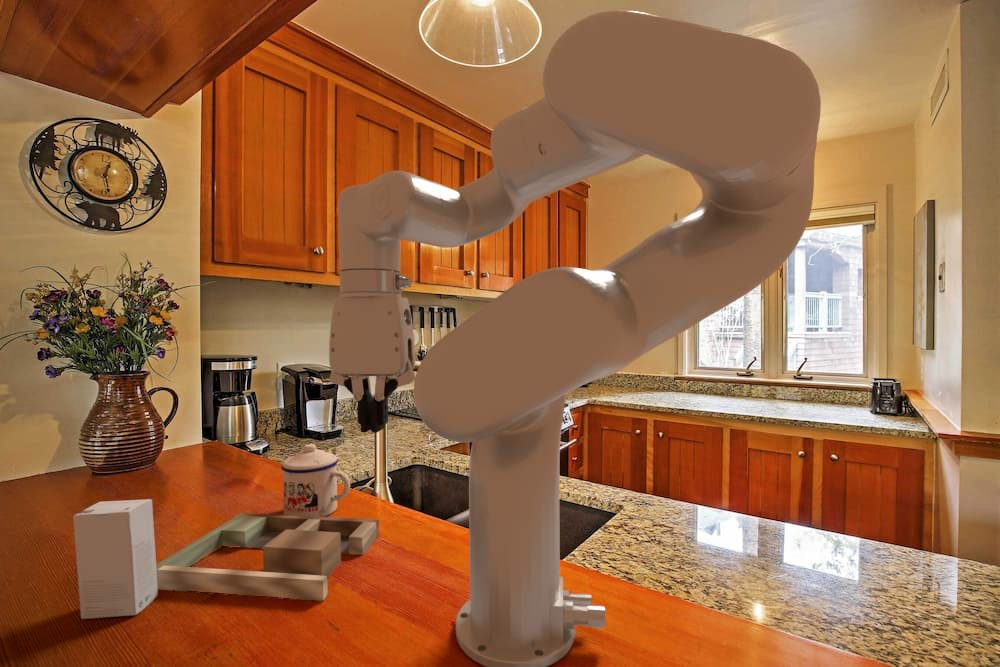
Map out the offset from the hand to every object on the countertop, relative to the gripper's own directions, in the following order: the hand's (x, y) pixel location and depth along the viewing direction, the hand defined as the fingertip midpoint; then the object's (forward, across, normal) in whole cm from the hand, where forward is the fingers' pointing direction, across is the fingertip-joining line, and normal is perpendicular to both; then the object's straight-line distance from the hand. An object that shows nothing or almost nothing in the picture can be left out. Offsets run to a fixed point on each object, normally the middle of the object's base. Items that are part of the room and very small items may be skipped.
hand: (373, 429), depth 60 cm
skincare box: (+19, +27, +10) cm, 35 cm away
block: (+19, +10, 0) cm, 22 cm away
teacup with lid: (+19, +18, -18) cm, 32 cm away
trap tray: (+19, +15, -2) cm, 24 cm away
